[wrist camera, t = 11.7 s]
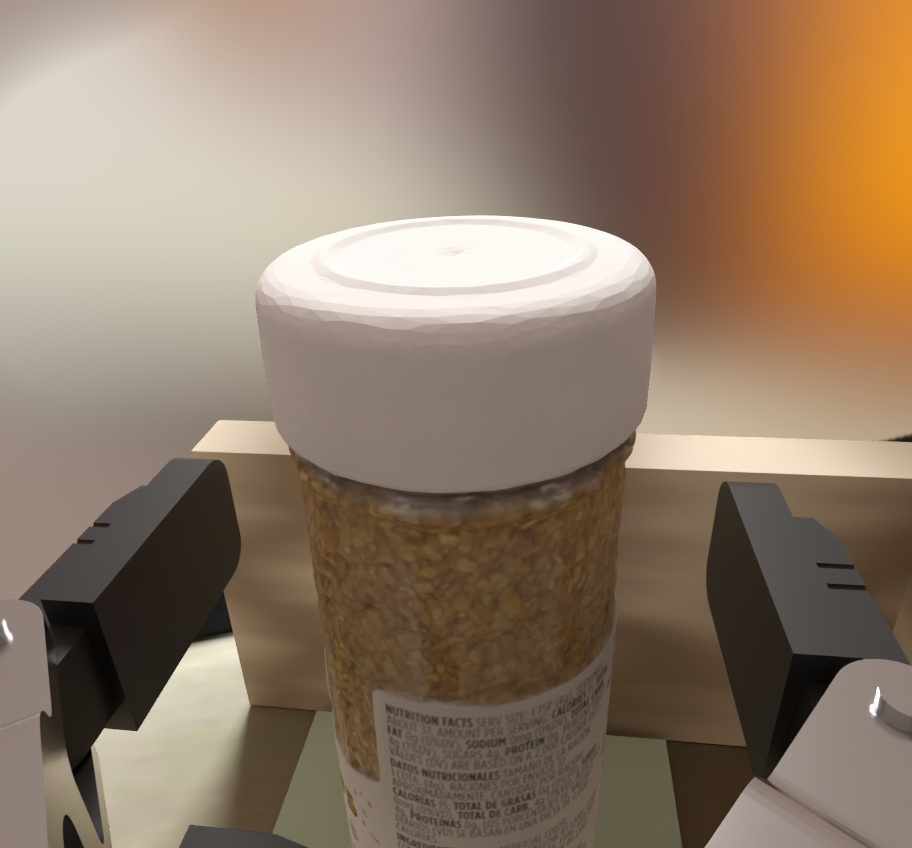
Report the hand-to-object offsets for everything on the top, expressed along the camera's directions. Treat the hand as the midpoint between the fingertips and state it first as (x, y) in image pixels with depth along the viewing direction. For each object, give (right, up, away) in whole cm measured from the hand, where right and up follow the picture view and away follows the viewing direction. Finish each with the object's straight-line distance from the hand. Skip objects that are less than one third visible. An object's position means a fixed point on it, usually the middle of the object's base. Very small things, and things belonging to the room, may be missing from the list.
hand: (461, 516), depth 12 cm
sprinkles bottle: (0, -9, +3) cm, 9 cm away
